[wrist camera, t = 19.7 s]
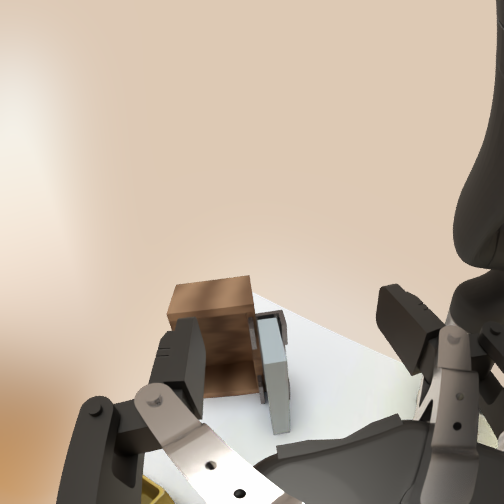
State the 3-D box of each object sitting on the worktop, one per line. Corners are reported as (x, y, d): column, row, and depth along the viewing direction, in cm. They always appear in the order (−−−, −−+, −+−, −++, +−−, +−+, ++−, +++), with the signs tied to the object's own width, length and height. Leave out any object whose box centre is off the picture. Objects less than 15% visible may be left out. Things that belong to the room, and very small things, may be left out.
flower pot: (142, 477, 26) (112, 450, 22) (191, 508, 22) (166, 489, 18) (108, 512, 19) (70, 490, 15) (155, 548, 15) (119, 538, 11)
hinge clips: (286, 385, 42) (282, 309, 36) (290, 399, 39) (286, 323, 33) (259, 389, 42) (247, 314, 36) (261, 403, 39) (249, 329, 33)
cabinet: (260, 359, 48) (249, 275, 42) (265, 391, 41) (253, 303, 34) (200, 366, 48) (176, 284, 41) (198, 398, 41) (166, 313, 34)
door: (282, 393, 40) (276, 317, 34) (290, 432, 33) (287, 360, 27) (267, 395, 40) (257, 320, 34) (273, 434, 33) (264, 364, 27)
